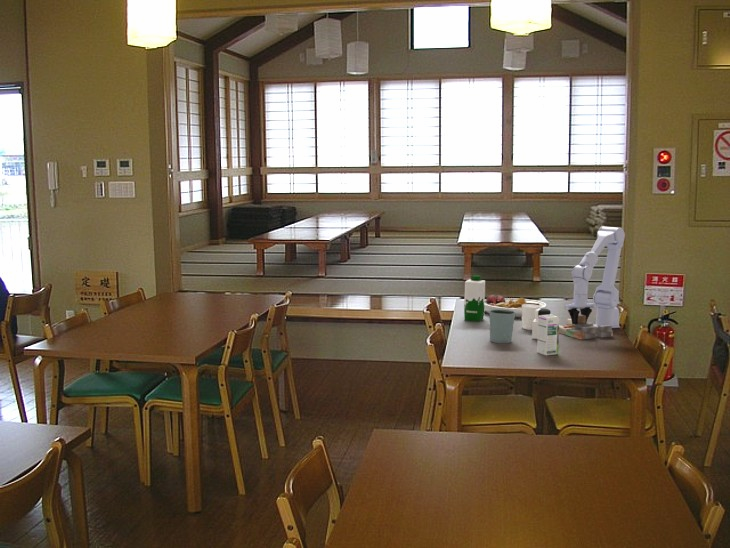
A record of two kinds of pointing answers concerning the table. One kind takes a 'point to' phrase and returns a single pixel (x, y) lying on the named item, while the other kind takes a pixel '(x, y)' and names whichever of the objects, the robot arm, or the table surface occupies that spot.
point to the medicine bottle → (535, 323)
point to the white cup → (528, 315)
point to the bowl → (509, 304)
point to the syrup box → (548, 334)
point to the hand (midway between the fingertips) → (579, 325)
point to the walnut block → (581, 318)
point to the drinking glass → (501, 325)
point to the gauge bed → (587, 331)
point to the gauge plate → (579, 326)
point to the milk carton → (474, 299)
